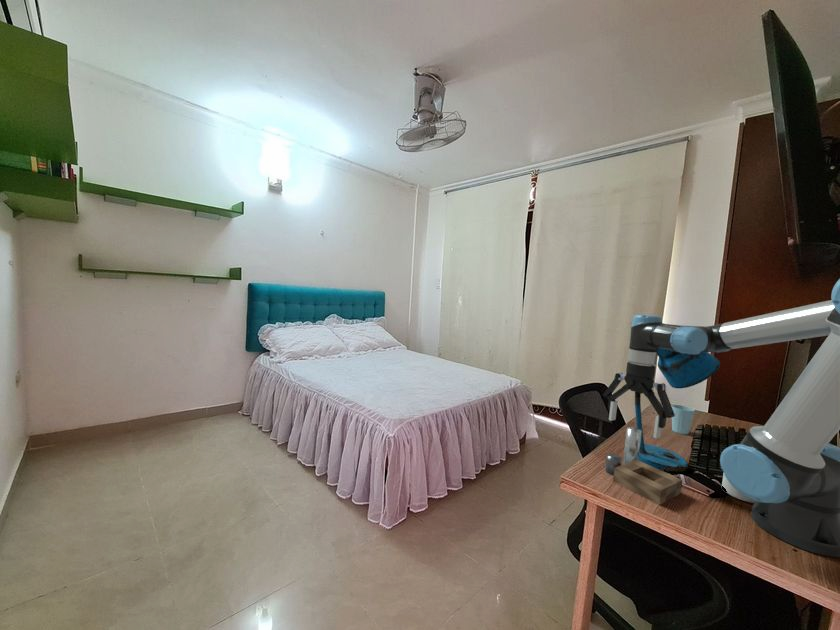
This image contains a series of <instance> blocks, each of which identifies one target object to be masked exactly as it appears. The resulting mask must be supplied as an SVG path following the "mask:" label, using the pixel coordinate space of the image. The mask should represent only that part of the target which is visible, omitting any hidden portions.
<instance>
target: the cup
mask: <svg viewBox="0 0 840 630" xmlns="http://www.w3.org/2000/svg"><path fill="white" fill-rule="evenodd" d="M671 406H672V409H673V411H674V414H675V416H674V417H671V431H673V432H675V433H677V434H680V435H689V433H690V429H691V426H692V423H693V419H694V415H695V411H696V410H695V409H694V408H691V407H689V406H686V405H682V404H681V405H680V404H671Z"/></svg>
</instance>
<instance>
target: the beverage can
mask: <svg viewBox="0 0 840 630" xmlns="http://www.w3.org/2000/svg"><path fill="white" fill-rule="evenodd" d="M722 474H723V475H722V482H721V487H722V486H723V487H724V488H725V489H726V491H727V492H726V493H727V494H728V495H730V496H731V497H733V498H735V499H737V500H740V501H743V502H746V503H751V504H754V503H755V502H756V501H755V500H753V499H750V498H748V497H747V496H745V495H743V494H742V493H740V492H739V491H738V490H737V489H735V488H734V487H733V486H732V485H731V483H730V482H729V481H728V480H727V478H726V477H725V475H724V474H725V473H724V472H723V473H722Z"/></svg>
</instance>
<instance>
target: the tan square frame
mask: <svg viewBox="0 0 840 630" xmlns="http://www.w3.org/2000/svg"><path fill="white" fill-rule="evenodd" d="M612 478H613V479H612V481H613V482H614V483H616V484H618V485H620V486H622V487H624V488H625V489H627V490H630V491H631V492H633V493H635V494H638V495H639V496H641V497H643V498H645V499H647V500H648V501H650V502H652V503H654V504H656V505H658V506H660V505H662V504H664V503H666V502H668V501H670V500H671V499H673V498H675V497H678V496H679V495H681V494H682V487H683V479H682V478H678V477H677V476H675V475H672V474H670V473H668V472H667V471H666V472H665V471H664V470H660V469H657V468H654V467H652V466H650V465H648V464H645V463H643V462H641V461H639V460H634V461H631V462H629V463H626V464H623V463H622V464H621V465H620V466H618V467H615V468H614V475H613V477H612Z"/></svg>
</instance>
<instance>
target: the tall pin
mask: <svg viewBox="0 0 840 630" xmlns="http://www.w3.org/2000/svg"><path fill="white" fill-rule="evenodd" d="M625 432H626V433H625V443H624V451H623V462H622V465H623V464H626V463H629V462H631V461H634V460H639V451H640V442H641V433H642V431H641V430H640V429H638V428H637V427H633V426H627V427H626V431H625Z"/></svg>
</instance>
